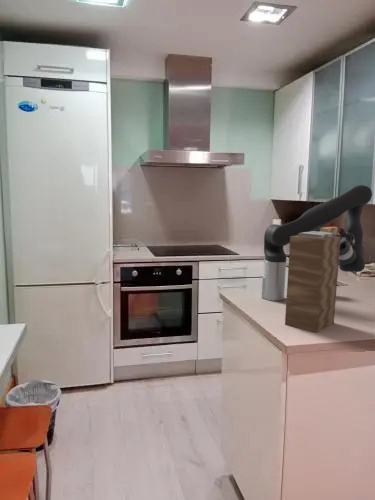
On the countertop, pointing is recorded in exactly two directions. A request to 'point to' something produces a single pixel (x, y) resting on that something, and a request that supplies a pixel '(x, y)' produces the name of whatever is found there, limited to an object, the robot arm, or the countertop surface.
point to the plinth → (312, 282)
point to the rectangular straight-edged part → (320, 233)
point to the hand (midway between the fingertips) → (329, 229)
